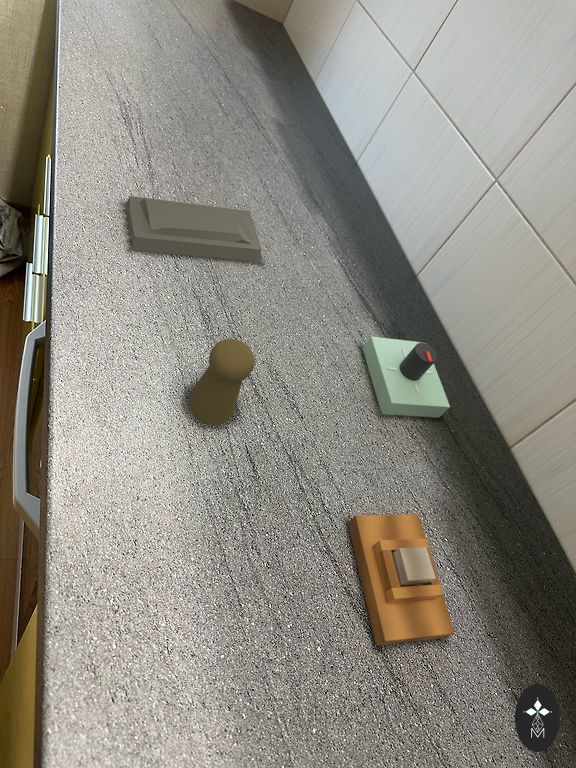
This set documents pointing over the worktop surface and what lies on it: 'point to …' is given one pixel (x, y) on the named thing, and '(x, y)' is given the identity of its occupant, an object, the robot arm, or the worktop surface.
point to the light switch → (397, 581)
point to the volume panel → (402, 381)
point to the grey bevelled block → (191, 230)
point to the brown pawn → (221, 382)
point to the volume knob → (418, 361)
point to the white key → (413, 566)
